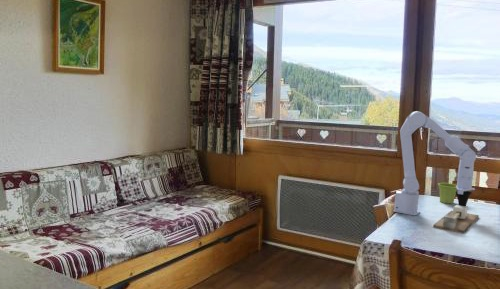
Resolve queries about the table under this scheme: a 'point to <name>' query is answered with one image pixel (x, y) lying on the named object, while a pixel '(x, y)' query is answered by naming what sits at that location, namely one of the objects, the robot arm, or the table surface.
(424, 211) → the table surface
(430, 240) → the table surface
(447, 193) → the plant pot
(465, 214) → the sleeve
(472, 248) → the table surface
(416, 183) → the robot arm
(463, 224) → the board
